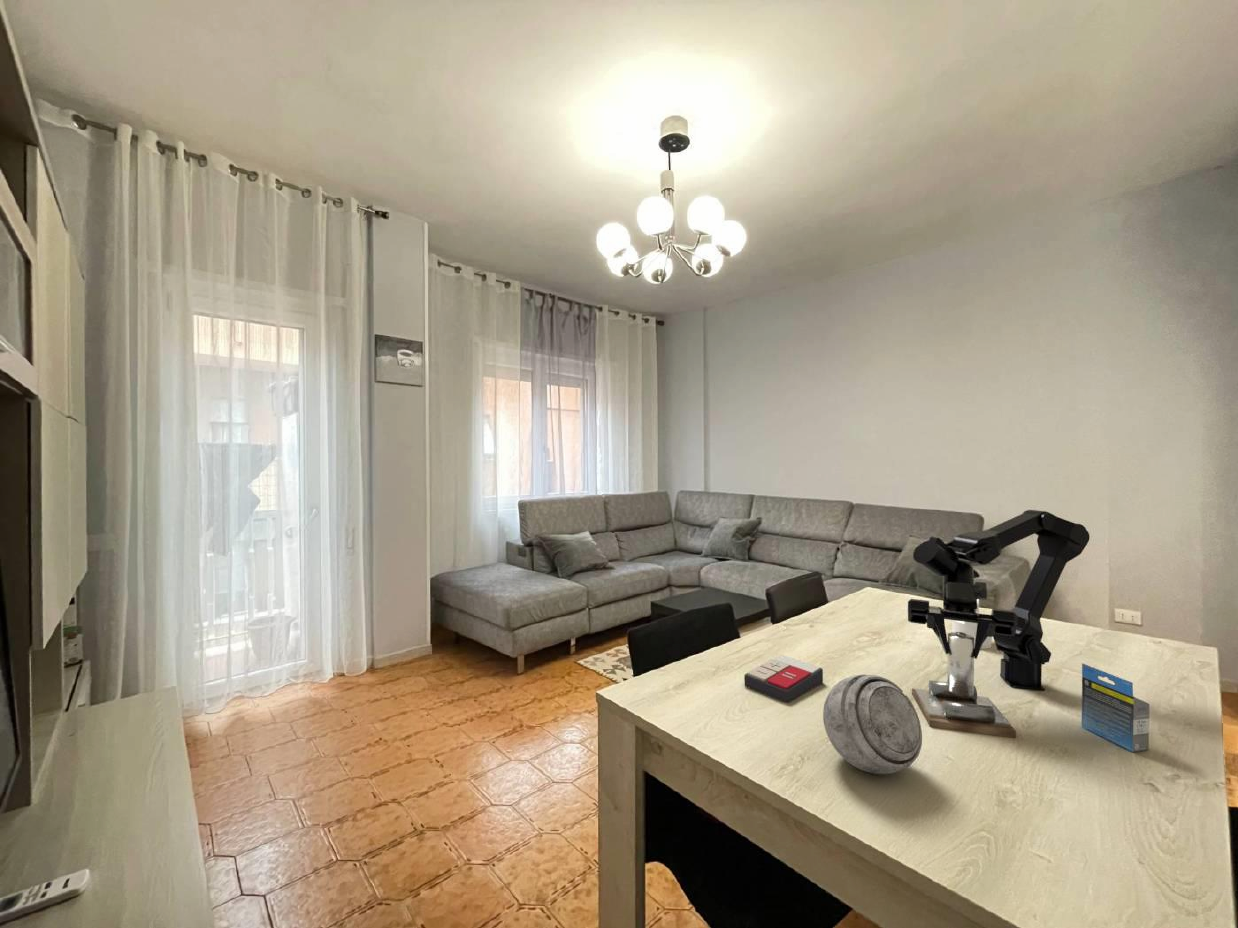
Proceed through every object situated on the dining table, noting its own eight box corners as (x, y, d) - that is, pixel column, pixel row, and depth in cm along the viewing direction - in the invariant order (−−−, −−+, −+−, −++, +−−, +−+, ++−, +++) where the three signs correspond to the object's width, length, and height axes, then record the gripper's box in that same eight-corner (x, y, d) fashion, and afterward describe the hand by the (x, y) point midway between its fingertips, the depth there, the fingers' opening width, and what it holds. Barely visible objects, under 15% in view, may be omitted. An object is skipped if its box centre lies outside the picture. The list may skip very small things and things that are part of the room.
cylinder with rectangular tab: (953, 634, 151) (953, 592, 150) (991, 641, 145) (992, 597, 145) (950, 643, 143) (951, 600, 143) (991, 651, 138) (992, 605, 138)
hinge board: (987, 702, 110) (987, 697, 110) (1015, 737, 96) (1015, 731, 96) (911, 693, 114) (912, 688, 114) (929, 726, 100) (929, 720, 100)
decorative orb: (874, 804, 78) (875, 704, 78) (804, 753, 91) (804, 667, 91) (940, 779, 84) (942, 686, 84) (866, 734, 97) (866, 654, 97)
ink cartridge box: (1150, 751, 92) (1152, 681, 92) (1132, 753, 91) (1133, 683, 91) (1096, 725, 101) (1097, 661, 100) (1079, 726, 100) (1080, 662, 100)
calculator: (743, 671, 118) (780, 651, 127) (743, 690, 118) (780, 668, 128) (787, 688, 109) (823, 665, 119) (787, 708, 110) (823, 683, 119)
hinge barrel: (969, 687, 106) (969, 630, 106) (977, 697, 102) (977, 638, 102) (944, 684, 108) (945, 628, 107) (951, 694, 103) (951, 635, 103)
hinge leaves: (986, 698, 109) (987, 684, 109) (1012, 728, 97) (1012, 712, 97) (914, 690, 113) (914, 676, 113) (930, 718, 101) (930, 702, 101)
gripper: (908, 561, 112) (906, 627, 103) (1016, 570, 103) (1025, 644, 94) (908, 589, 119) (907, 653, 110) (1010, 600, 110) (1018, 672, 101)
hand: (961, 655), depth 103 cm, fingers closed on hinge barrel, 4 cm apart
